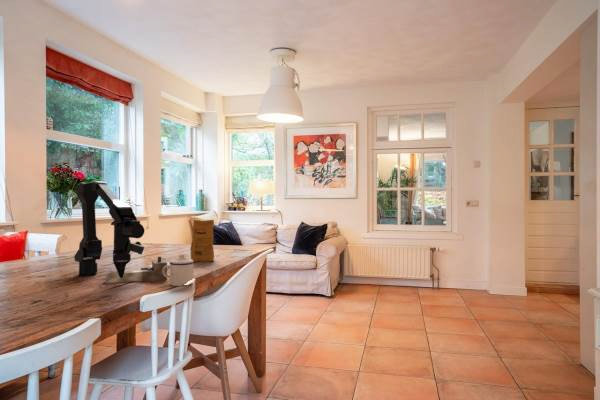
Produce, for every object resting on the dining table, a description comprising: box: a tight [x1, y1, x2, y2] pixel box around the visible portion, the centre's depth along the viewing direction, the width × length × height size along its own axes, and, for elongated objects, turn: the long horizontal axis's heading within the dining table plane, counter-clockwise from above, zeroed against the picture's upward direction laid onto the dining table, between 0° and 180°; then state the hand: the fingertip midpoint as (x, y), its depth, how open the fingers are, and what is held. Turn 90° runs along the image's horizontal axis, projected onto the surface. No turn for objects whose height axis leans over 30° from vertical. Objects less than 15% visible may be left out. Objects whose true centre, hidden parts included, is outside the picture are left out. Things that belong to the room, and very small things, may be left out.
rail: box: [105, 266, 151, 284], centre depth 158 cm, size 17×4×5 cm, turn 116°
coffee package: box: [190, 219, 215, 263], centre depth 208 cm, size 10×12×22 cm
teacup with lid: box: [163, 253, 195, 287], centre depth 153 cm, size 12×9×12 cm
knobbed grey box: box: [140, 255, 168, 282], centre depth 162 cm, size 9×9×9 cm
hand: (121, 275), depth 157 cm, fingers open, 9 cm apart
